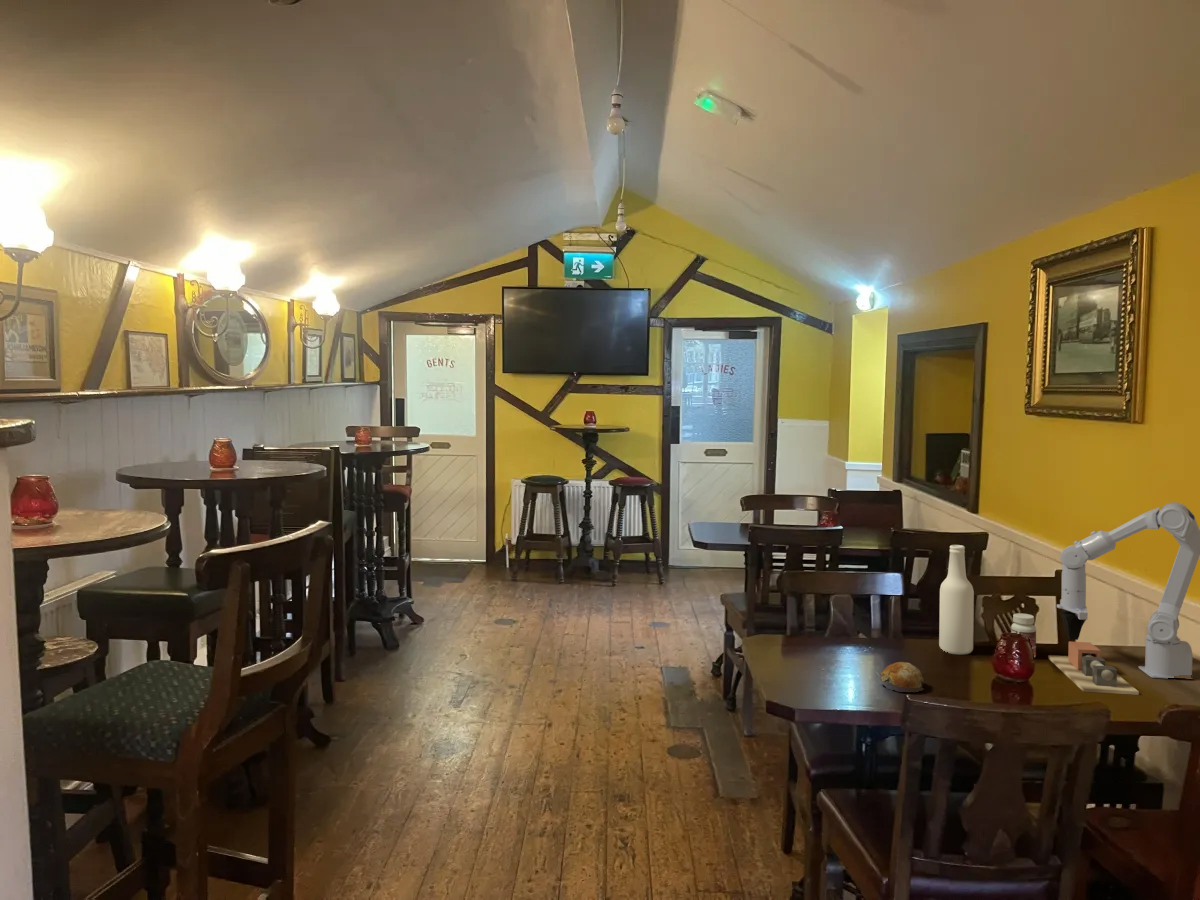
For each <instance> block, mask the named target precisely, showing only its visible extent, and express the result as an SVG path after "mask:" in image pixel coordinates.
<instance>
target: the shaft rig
mask: <svg viewBox="0 0 1200 900" xmlns="http://www.w3.org/2000/svg"><path fill="white" fill-rule="evenodd" d="M1047 658H1048V660H1049V661H1050V662H1051V663H1052V664H1054V665H1055V666H1056V667H1057V668H1058V669H1059V670H1060V671H1061V672H1062V673H1063V674H1064V675H1065V676H1066V677H1067V678H1068V679H1070V681H1072V682H1073V683H1074V685H1076V687H1078V688H1079V690H1081V691H1082V692H1084V693H1101V694H1115V695H1116V694H1118V695H1133V696H1134V695H1136V696H1139V695H1140V691H1139V690H1137V689H1136V688H1135V687H1134V686H1132V685H1131V684H1130V683H1129V682H1127V680H1125V679H1124V678H1123V677H1121V676H1120V675H1119V674H1118V669H1117V668H1115V667H1114V666H1113V665H1112V666H1111V665H1107V664H1106V660H1105V659H1104V658H1103V657H1101V656H1100V657H1093V656H1092V655H1090V654H1089V653H1082V669H1077V668H1076V667H1075V666H1074V665H1073V664H1072V663H1070V662H1069V661H1068V655H1056V654H1053V655H1052V654H1048V655H1047Z"/></svg>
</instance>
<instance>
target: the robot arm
mask: <svg viewBox="0 0 1200 900" xmlns="http://www.w3.org/2000/svg"><path fill="white" fill-rule="evenodd" d="M1160 528H1162V529H1164V530H1166V531H1167V532H1168V533H1170V535H1172V536H1173V537H1174V539H1175V540H1176V541H1177V543H1178V545H1179V547H1178V551H1177V554H1176V557H1175V558H1174V562H1173V564H1172V565H1173V566H1172V568H1171V571H1170V574H1169V577H1168V579H1167V582H1166V584H1165V588H1164V591H1163V594H1162V597H1161V599H1160V601H1159V602H1160V603H1159V605H1158V608H1157V610H1156V611H1155V612H1154V613H1153V614H1151V616H1150V618H1149V621H1148V623H1147V626H1146V632H1147V634H1146V635H1145V657H1144V658H1145V659H1144V666H1143V665H1138V669H1139V670H1141V671H1142V672H1144V673H1145V674H1146V675H1147V676H1149V677H1150V678H1152V679H1153V678H1154V679H1168V678H1174V676H1179V675H1192V676H1193V649H1192V646H1191V645H1190V643H1189V642H1188V641H1185V640H1181V639H1180V638H1179V636H1178V630H1179V628H1180V621H1179V616H1180V612H1181V608H1182V607H1183V606H1182V605H1183V604H1184V601H1185V597H1186V594H1187V593H1188V589H1189V586H1190V584H1191V582H1192V581H1191V580H1192V578H1193V575H1194V572H1195V569H1196V567H1197V564H1198V561H1199V557H1200V528H1199V524H1198V523H1197V519H1196V516H1195V514H1193V512H1192V511H1191V510H1190V509H1189V508H1188V507H1187V506H1186V505H1184V503H1180V502H1168V503H1167V504H1164V506H1162V508H1161V506H1158V507H1156V508H1154V509H1151V510H1148V511H1146V512H1143V513H1141V514H1140V515H1137V516H1136V517H1134V518H1131V519H1130V520H1128V521H1127V522H1125V523H1123V524H1121V525H1119V526H1118V527H1116V528H1114V529H1112V530H1110V531H1105V530H1098V531H1096V530H1093V531H1092V532H1090V535H1089V536H1087V537H1084V538H1083V539H1081V540H1075V541H1074V542H1073V544H1071V545H1069V546H1067V547H1065V548H1064V549H1063V550H1062V552H1061V553H1060V561H1061V563H1062V565H1061V569H1062V571H1061V597H1060V598H1061V599H1059V604H1058V603H1057V604H1056V608H1058V609H1060V610H1061V609H1062V610H1063V611H1059V614H1060V617H1061V618H1062V620H1063V623H1064V627H1065V631H1066V636H1067V638H1068V640H1069V641H1070V640H1073V641H1076V640H1077V641H1078V640H1079V638H1080V634H1081V631H1082V628H1083V625H1084V624H1085V623H1086V621H1087V620H1088V619H1089V617H1088V616H1089V615H1088V612H1087V609H1088V607H1087V602H1086V601H1087V573H1086V563H1087V561H1093V560H1095V559H1098V558H1100V557H1102V556H1103V555H1106V554H1107V553H1110V552H1112V551H1114V550H1115V549H1116V545H1117V542H1120V541H1122V540H1125V539H1128V538H1129V537H1131V536H1133V535H1136V534H1137V533H1140V532H1142V531H1143V530H1148V529H1149V530H1150V529H1151V530H1159V529H1160Z"/></svg>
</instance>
